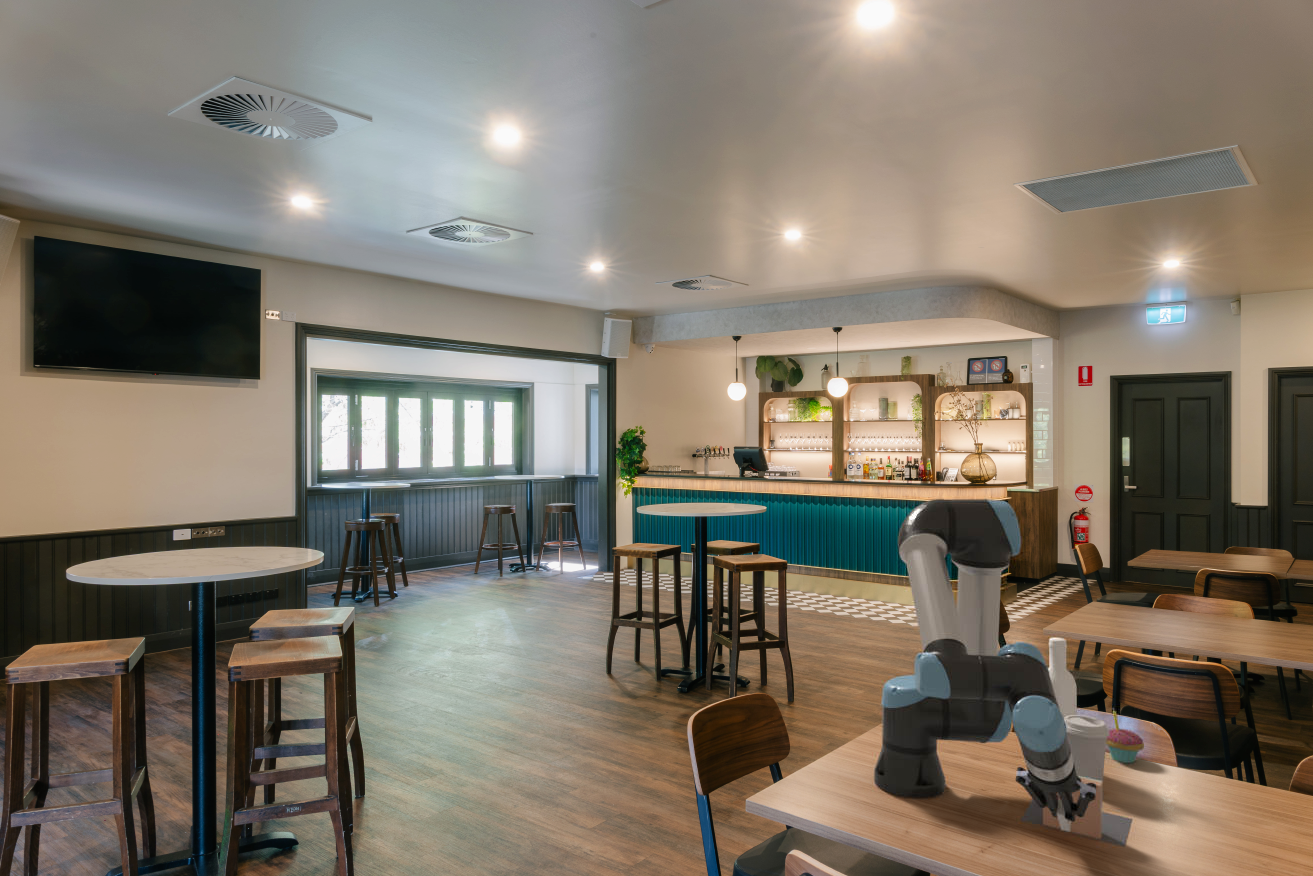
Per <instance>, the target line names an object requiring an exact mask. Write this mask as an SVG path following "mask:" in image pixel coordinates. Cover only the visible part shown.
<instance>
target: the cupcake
mask: <svg viewBox="0 0 1313 876" xmlns="http://www.w3.org/2000/svg"><path fill="white" fill-rule="evenodd" d="M1112 714H1113V720H1114V724H1115V728H1112V729H1109V730H1108V731H1109V736H1107V740H1106V747H1108V750H1109V753H1110V757H1111V759H1112V760H1114V761H1116V762H1119V763H1122V764H1123V763H1125V764H1133V763H1134V762H1135V761H1136V758H1137V755H1138V754H1139V752H1140V751H1141V750H1142V751H1143V750H1144V747H1145V744H1144V743H1145V742H1144V739H1142V737H1141V736H1139V734H1138V733H1135V732H1134V731H1131V730H1128V729H1125V728H1120V726H1119V721H1118V715H1117V711H1115V708H1114V707H1112Z"/></svg>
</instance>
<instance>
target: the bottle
mask: <svg viewBox="0 0 1313 876" xmlns="http://www.w3.org/2000/svg"><path fill="white" fill-rule="evenodd" d="M1048 647H1049V649H1048V650H1049V651H1048V652H1049V653H1048V655H1049V657H1048V659H1049V661H1048V662H1049V664H1048V665H1049V666H1048V667H1047V668H1048V670H1049V675H1050V679H1051V683H1052V686H1053V690H1054V694H1055V697H1056V700H1057V702H1058V705H1059V708H1060V712H1061V713H1062V715H1063V718H1065V717H1066V716H1068V715H1078V713H1077V710H1078V709H1077V707H1078V706H1077V705H1078V704H1077V701H1078V700H1077V697H1078V696H1077V695H1078V694H1077V683H1076V680H1075V677H1074V675H1073V674H1072V673H1071V672H1070V671H1069V670H1068V669H1067V647H1068V645H1067V640H1066V639H1065V638H1063V637H1050V638H1049V639H1048Z"/></svg>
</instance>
